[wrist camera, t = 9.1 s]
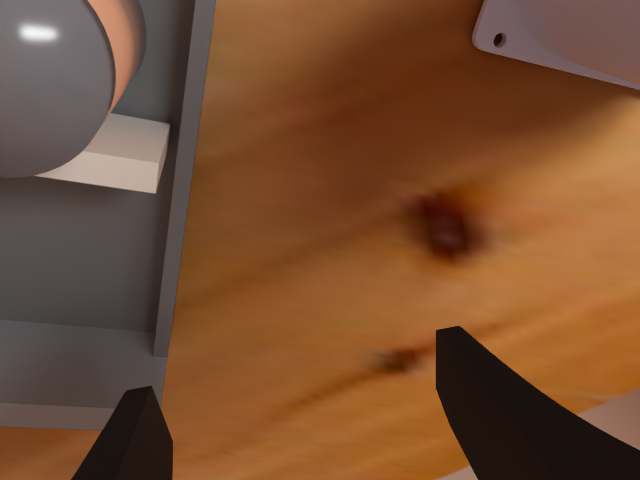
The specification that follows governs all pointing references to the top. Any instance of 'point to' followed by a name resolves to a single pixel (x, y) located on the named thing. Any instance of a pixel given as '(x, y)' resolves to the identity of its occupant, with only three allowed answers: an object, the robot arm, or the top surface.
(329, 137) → the top surface
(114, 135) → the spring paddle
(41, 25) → the jar
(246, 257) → the top surface
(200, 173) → the top surface
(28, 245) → the tray
